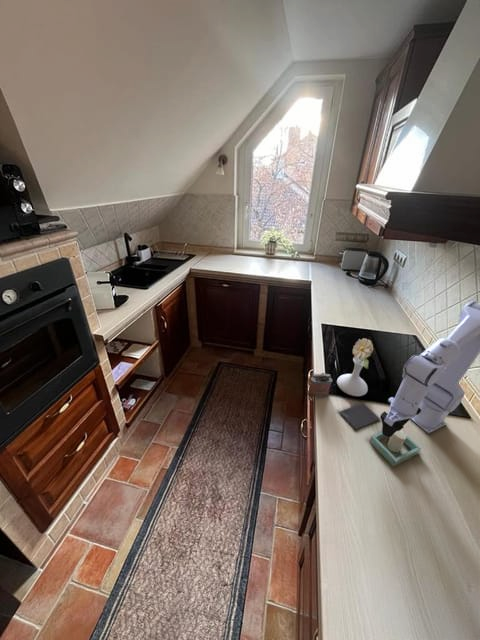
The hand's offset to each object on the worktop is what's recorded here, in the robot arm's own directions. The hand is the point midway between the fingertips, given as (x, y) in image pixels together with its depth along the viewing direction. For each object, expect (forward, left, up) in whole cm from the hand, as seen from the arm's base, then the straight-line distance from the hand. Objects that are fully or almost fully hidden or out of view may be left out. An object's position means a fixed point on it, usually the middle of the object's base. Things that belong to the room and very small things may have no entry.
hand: (393, 429), depth 74 cm
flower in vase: (-9, -23, -9) cm, 26 cm away
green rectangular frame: (-3, +1, -9) cm, 9 cm away
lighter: (+5, -26, -9) cm, 28 cm away
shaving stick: (-3, +1, -9) cm, 9 cm away
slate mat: (-2, -12, -9) cm, 15 cm away
